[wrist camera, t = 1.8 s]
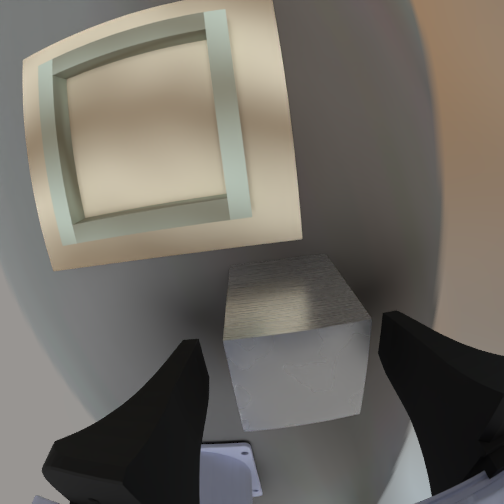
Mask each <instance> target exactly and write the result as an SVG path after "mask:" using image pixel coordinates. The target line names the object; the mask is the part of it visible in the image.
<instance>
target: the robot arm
mask: <svg viewBox="0 0 504 504" xmlns="http://www.w3.org/2000/svg"><path fill="white" fill-rule="evenodd" d="M378 354H379V357H380V360H381V362H382V365H383V368H384V370H385V373H386V375H387V376H388V378H389V380H390V382H391V384H392V386H393V387H394V389H395V391H396V393H397V395H398V396H399V398H400V400H401V402H402V404H403V405H404V407H405V409H406V411H407V413H408V415H409V417H410V419H411V422H412V424H413V427H414V430H415V432H416V435H417V438H418V441H419V444H420V447H421V450H422V454H423V457H424V461H425V465H426V469H427V473H428V477H429V482H430V488H431V494H432V497H430V498H428V499H425V500H423V501H420V502H418V503H415V504H504V356H501V355H497V354H492V353H488V352H485V351H482V350H478V349H475V348H473V347H470V346H467V345H464V344H462V343H459V342H457V341H455V340H453V339H450V338H448V337H446V336H444V335H442V334H440V333H438V332H436V331H434V330H432V329H430V328H429V327H427V326H425V325H423V324H421V323H419V322H418V321H416V320H414V319H412V318H410V317H409V316H407V315H405V314H403V313H401V312H399V311H391V312H387V313H383V317H382V326H381V335H380V343H379V351H378ZM208 400H209V375H208V372H207V368H206V365H205V361H204V357H203V354H202V350H201V346H200V342H199V339H191V340H183V341H182V342H181V343H180V345H179V346H178V347H177V348H176V349H175V351H174V352H173V353H172V354H171V356H170V357H169V358H168V359H167V361H166V362H165V363H164V364H163V365H162V367H161V368H160V369H159V370H158V371H157V372H156V374H155V375H154V376H153V377H152V378H151V379H150V380H149V381H148V382H147V383H146V384H145V385H144V386H143V387H142V388H141V389H140V390H139V391H138V392H137V393H136V394H135V395H134V396H132V397H131V398H130V399H129V400H128V401H126V402H125V403H124V404H123V405H121V406H120V407H119V408H117V409H116V410H114V411H113V412H111V413H110V414H108V415H107V416H106V417H104V418H103V419H101V420H99V421H98V422H96V423H94V424H92V425H91V426H89V427H87V428H85V429H83V430H81V431H79V432H76V433H74V434H72V435H69V436H67V437H65V438H62V439H60V440H57V441H55V442H54V444H53V446H52V448H51V450H50V452H49V455H48V457H47V459H46V461H45V463H44V465H43V468H42V473H43V475H44V477H45V478H46V480H47V481H48V482H49V483H50V484H51V485H52V486H53V487H54V488H55V489H56V490H58V491H59V492H60V493H61V494H62V495H63V496H64V497H66V498H67V499H68V500H69V501H70V504H253V497H257V496H261V495H262V494H263V492H262V488H261V484H260V480H259V476H258V472H257V469H256V465H255V461H254V457H253V453H252V449H251V445H250V444H248V443H226V444H201V443H202V437H203V431H204V425H205V419H206V413H207V407H208ZM32 504H59V503H57V502H54V501H51V500H48V499H46V498H43V497H40V496H35V497H34V500H33V502H32Z"/></svg>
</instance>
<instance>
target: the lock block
mask: <svg viewBox="0 0 504 504" xmlns="http://www.w3.org/2000/svg"><path fill="white" fill-rule="evenodd" d="M371 324H372V318H371V317H370V315H369V314H368V313H367V311H366V310H365V308H364V307H363V305H362V304H361V302H360V301H359V300H358V298H357V297H356V295H355V294H354V292H353V291H352V290H351V288H350V287H349V285H348V284H347V283H346V281H345V280H344V278H343V277H342V276H341V274H340V273H339V272H338V270H337V269H336V267H335V266H334V265H333V263H332V262H331V261H330V259H329V258H328V257H327V255H326V254H318V255H310V256H302V257H294V258H286V259H278V260H271V261H263V262H255V263H246V264H238V265H230V271H229V281H228V291H227V302H226V312H225V323H224V334H223V343H224V348H225V352H226V357H227V362H228V366H229V371H230V375H231V379H232V384H233V388H234V392H235V397H236V401H237V405H238V409H239V413H240V418H241V422H242V426H243V430H244V432H248V431H259V430H268V429H277V428H285V427H292V426H299V425H305V424H311V423H317V422H322V421H328V420H333V419H338V418H343V417H347V416H352V415H356V414H360V410H361V404H362V398H363V392H364V385H365V378H366V371H367V363H368V354H369V345H370V335H371Z"/></svg>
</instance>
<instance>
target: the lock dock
mask: <svg viewBox="0 0 504 504" xmlns="http://www.w3.org/2000/svg"><path fill="white" fill-rule="evenodd" d="M23 109H24V124H25V136H26V145H27V153H28V161H29V168H30V174H31V180H32V186H33V191H34V197H35V202H36V206H37V211H38V216H39V220H40V224H41V228H42V232H43V236H44V240H45V244H46V247H47V251H48V254H49V258H50V261H51V264H52V268H53V271H59V270H67V269H74V268H81V267H89V266H96V265H104V264H111V263H119V262H126V261H134V260H141V259H149V258H157V257H164V256H172V255H180V254H188V253H195V252H203V251H211V250H219V249H227V248H235V247H243V246H251V245H259V244H267V243H275V242H283V241H291V240H299V239H302V227H301V215H300V203H299V193H298V182H297V172H296V162H295V153H294V144H293V136H292V127H291V119H290V111H289V103H288V96H287V89H286V82H285V75H284V68H283V61H282V55H281V48H280V42H279V36H278V30H277V24H276V19H275V13H274V8H273V2H272V0H184V1H179V2H174V3H170V4H165V5H161V6H157V7H153V8H149V9H146V10H142V11H139V12H135V13H132V14H129V15H125V16H122V17H119V18H116V19H113V20H110V21H108V22H105V23H102V24H99V25H97V26H94V27H91V28H89V29H86V30H84V31H81V32H79V33H77V34H74V35H72V36H70V37H68V38H65V39H63V40H61V41H59V42H57V43H55V44H53V45H50V46H48V47H46V48H44V49H42V50H41V51H39V52H37V53H35V54H33V55H31V56H29V57H27V58H26V59H24V60H23Z"/></svg>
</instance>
